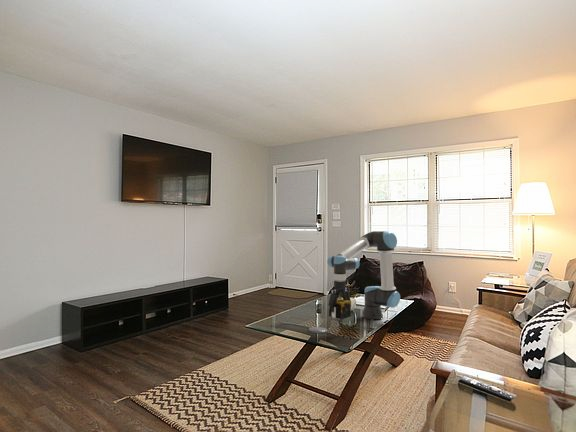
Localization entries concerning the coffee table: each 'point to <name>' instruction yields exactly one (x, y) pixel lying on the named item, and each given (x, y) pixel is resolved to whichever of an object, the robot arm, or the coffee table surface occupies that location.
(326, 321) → the coffee table surface
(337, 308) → the candle
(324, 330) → the coaster
